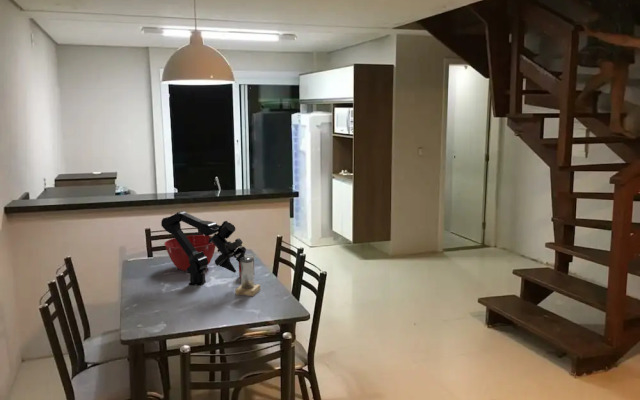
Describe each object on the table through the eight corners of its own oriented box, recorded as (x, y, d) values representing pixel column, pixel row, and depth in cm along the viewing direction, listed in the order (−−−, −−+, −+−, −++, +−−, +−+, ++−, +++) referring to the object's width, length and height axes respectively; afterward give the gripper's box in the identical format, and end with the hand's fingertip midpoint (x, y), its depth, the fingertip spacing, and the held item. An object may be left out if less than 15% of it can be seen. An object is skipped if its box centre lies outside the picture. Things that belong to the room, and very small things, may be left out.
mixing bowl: (164, 277, 272) (162, 248, 269) (167, 262, 299) (165, 236, 296) (219, 273, 278) (218, 245, 276) (217, 259, 305) (215, 233, 303)
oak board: (235, 294, 245) (235, 289, 245) (243, 288, 254) (243, 283, 253) (253, 295, 243) (253, 290, 242) (260, 289, 251) (260, 284, 251)
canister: (241, 289, 244) (240, 260, 242) (241, 285, 250) (240, 257, 248) (254, 288, 245) (253, 259, 243) (254, 284, 251) (253, 256, 249)
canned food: (251, 279, 267) (251, 258, 265) (237, 278, 269) (236, 258, 267) (256, 274, 275) (255, 254, 273) (242, 274, 276) (241, 254, 274)
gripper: (219, 238, 239) (239, 264, 236) (242, 230, 256) (261, 254, 253) (206, 252, 244) (225, 278, 241) (230, 243, 261) (248, 268, 258)
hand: (241, 269), depth 248 cm, fingers open, 9 cm apart
